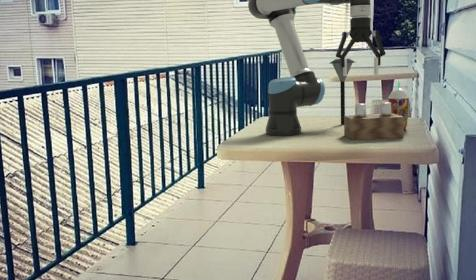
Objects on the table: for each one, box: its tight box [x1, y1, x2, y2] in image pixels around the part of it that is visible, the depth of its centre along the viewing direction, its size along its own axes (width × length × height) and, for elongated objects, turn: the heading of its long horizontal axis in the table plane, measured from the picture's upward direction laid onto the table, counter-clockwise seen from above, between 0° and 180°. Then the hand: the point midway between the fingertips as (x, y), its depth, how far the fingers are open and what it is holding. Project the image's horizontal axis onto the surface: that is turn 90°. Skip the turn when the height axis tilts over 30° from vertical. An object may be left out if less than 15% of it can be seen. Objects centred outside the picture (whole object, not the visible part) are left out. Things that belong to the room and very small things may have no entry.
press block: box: [343, 113, 405, 141], centre depth 207 cm, size 20×12×8 cm, turn 93°
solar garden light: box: [328, 58, 356, 126], centre depth 242 cm, size 12×12×30 cm
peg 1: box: [354, 103, 367, 118], centre depth 206 cm, size 4×4×8 cm
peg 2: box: [380, 101, 391, 117], centre depth 207 cm, size 4×4×8 cm
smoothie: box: [387, 81, 410, 131], centre depth 221 cm, size 8×8×20 cm
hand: (360, 75), depth 204 cm, fingers open, 11 cm apart
